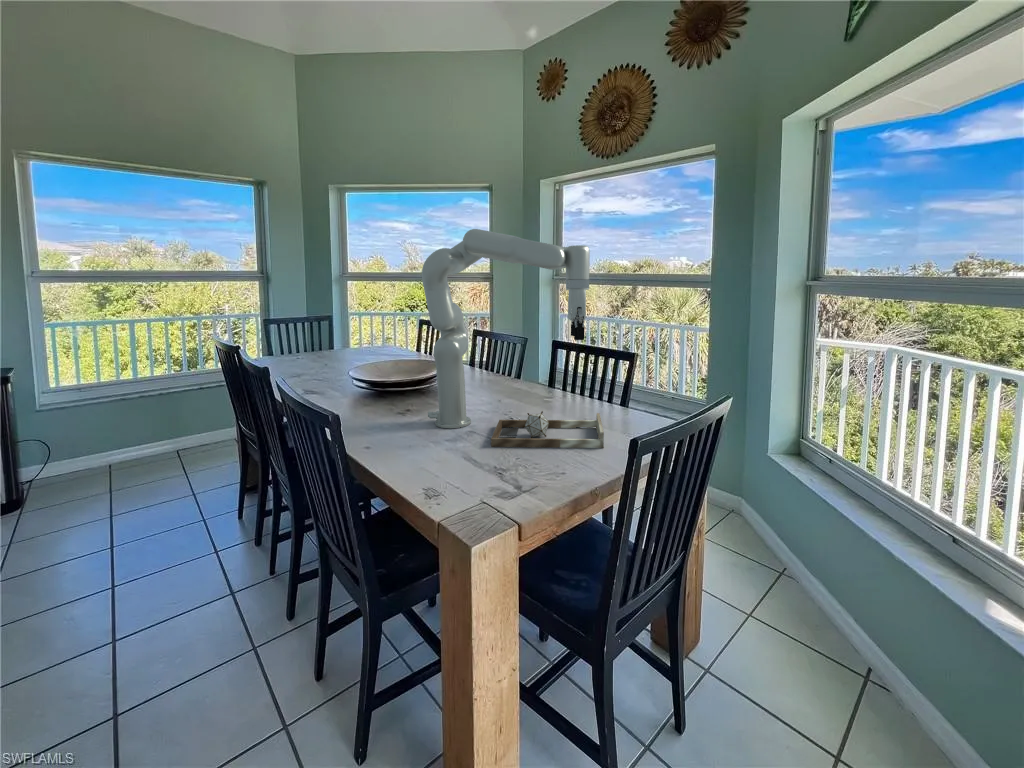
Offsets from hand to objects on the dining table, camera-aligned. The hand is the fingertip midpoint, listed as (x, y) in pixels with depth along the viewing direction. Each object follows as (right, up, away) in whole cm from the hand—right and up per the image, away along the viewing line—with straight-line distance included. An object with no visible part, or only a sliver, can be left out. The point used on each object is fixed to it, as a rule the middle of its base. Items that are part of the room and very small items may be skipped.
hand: (577, 337), depth 166 cm
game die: (-13, -32, -3) cm, 35 cm away
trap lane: (-10, -32, -4) cm, 34 cm away
